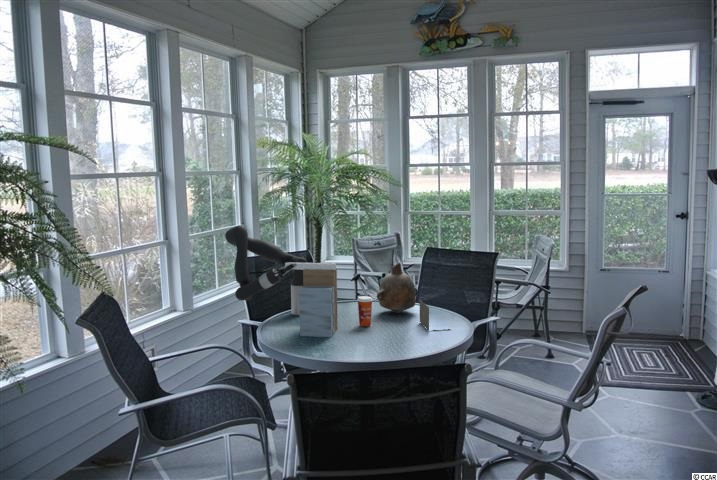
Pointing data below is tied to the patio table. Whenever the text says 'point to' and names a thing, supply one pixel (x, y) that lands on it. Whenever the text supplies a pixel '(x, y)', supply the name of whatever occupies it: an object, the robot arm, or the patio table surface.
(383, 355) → the patio table surface
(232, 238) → the robot arm
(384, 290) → the jug
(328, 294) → the display riser
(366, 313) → the coffee cup
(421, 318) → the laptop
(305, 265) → the aluminium bar
